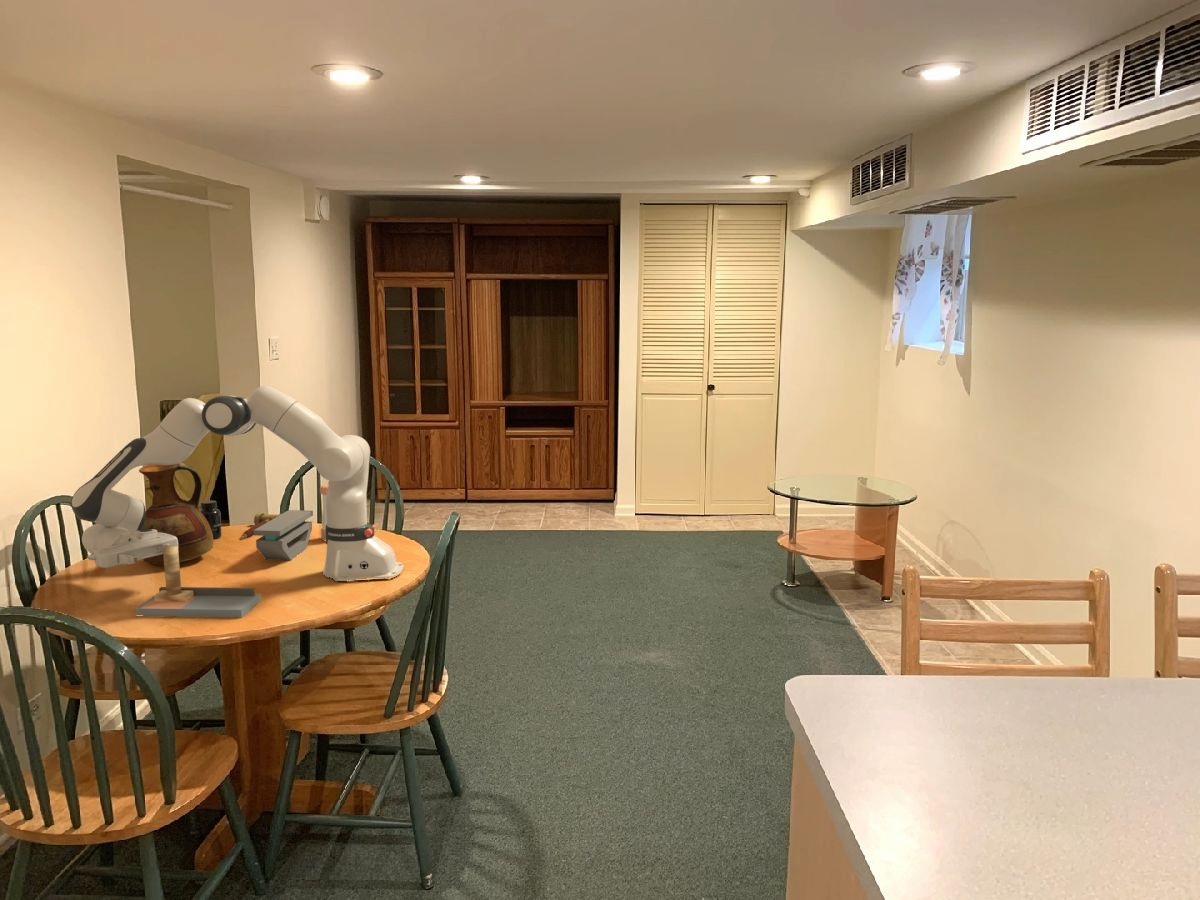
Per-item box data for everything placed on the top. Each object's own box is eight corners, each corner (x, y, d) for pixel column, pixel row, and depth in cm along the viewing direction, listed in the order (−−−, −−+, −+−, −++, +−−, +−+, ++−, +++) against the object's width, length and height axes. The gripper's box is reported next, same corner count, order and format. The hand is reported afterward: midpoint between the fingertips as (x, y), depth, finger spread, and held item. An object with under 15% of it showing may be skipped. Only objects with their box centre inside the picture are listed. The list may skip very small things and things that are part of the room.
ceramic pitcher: (131, 558, 262) (123, 460, 257) (201, 547, 276) (195, 453, 271) (150, 574, 248) (142, 470, 243) (223, 561, 261) (217, 462, 256)
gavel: (255, 532, 283) (226, 530, 284) (256, 545, 284) (228, 543, 286) (286, 512, 303) (259, 511, 305) (288, 525, 304) (261, 523, 306)
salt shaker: (317, 538, 287) (315, 481, 284) (339, 534, 292) (336, 478, 288) (326, 543, 282) (324, 484, 278) (348, 539, 286) (346, 482, 283)
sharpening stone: (290, 543, 281) (288, 510, 280) (314, 543, 281) (312, 510, 279) (255, 566, 257) (253, 530, 255) (281, 567, 256) (279, 531, 255)
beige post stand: (193, 596, 225) (190, 545, 222) (186, 601, 221) (182, 549, 218) (162, 595, 225) (158, 544, 222) (154, 601, 221) (150, 549, 218)
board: (260, 600, 228) (259, 586, 227) (241, 617, 216) (240, 602, 215) (160, 599, 227) (158, 585, 227) (135, 616, 216) (134, 601, 215)
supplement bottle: (220, 539, 284) (218, 503, 282) (197, 541, 282) (195, 504, 280) (223, 534, 291) (220, 499, 289) (200, 535, 289) (198, 500, 287)
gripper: (82, 544, 225) (111, 553, 217) (159, 527, 241) (188, 534, 234) (85, 568, 226) (113, 577, 218) (161, 549, 242) (190, 557, 235)
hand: (153, 555), depth 226 cm, fingers open, 8 cm apart
